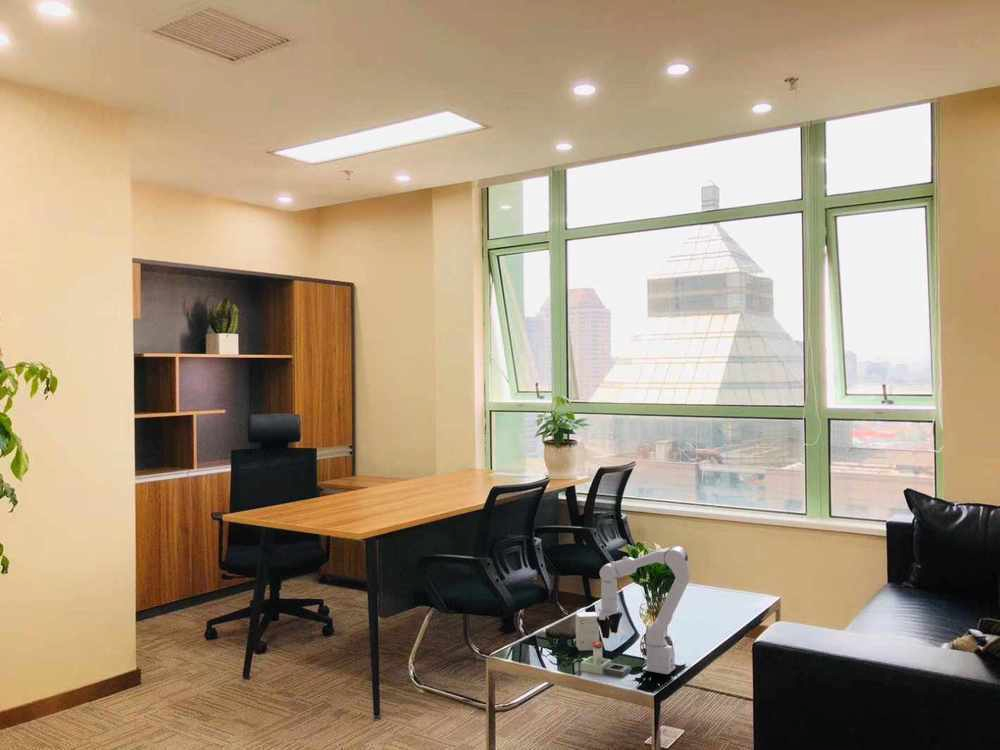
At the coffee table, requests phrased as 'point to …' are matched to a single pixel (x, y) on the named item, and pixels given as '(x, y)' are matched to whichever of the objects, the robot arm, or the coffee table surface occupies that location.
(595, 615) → the small box
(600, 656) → the lock pin
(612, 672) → the block
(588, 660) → the tray
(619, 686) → the coffee table surface
